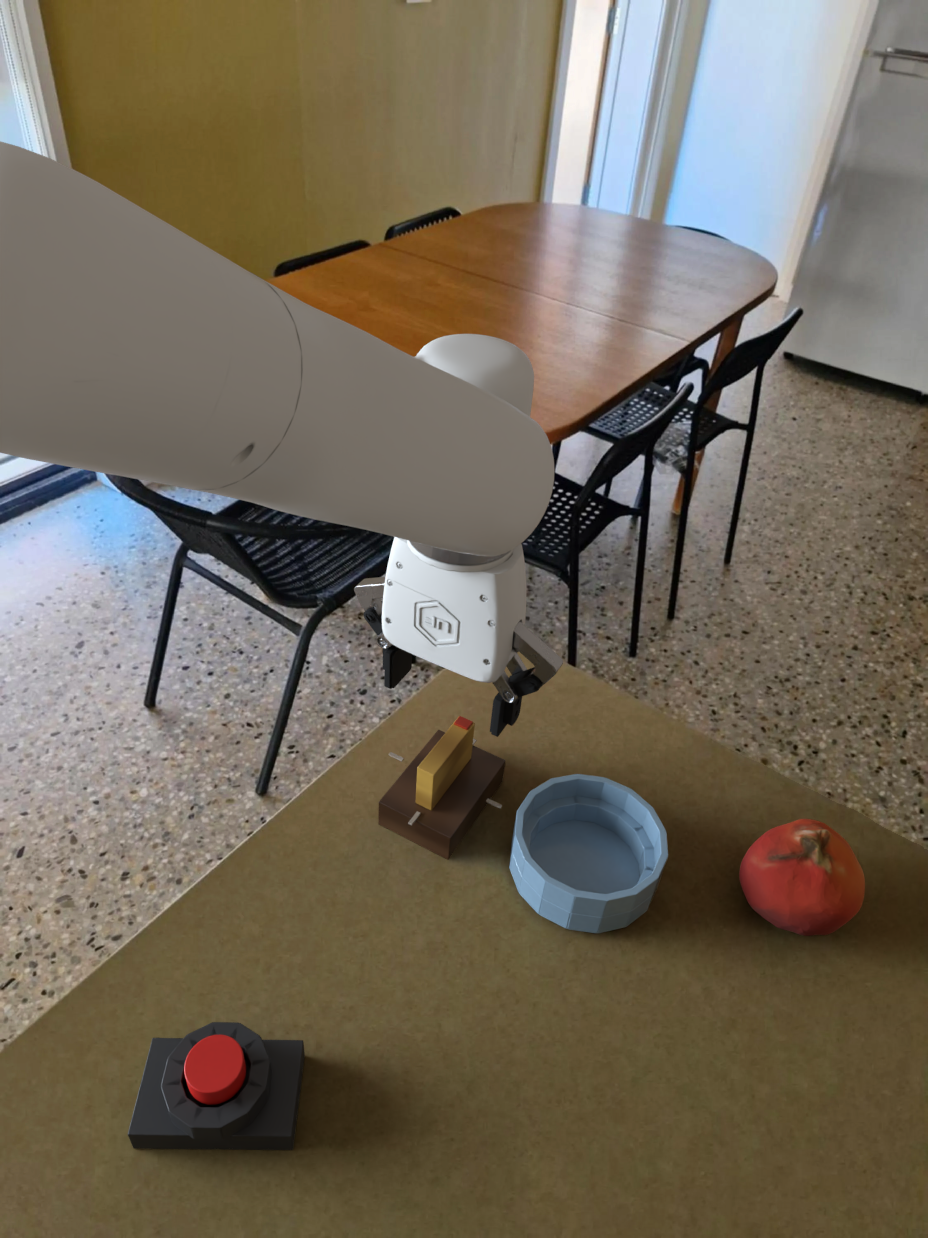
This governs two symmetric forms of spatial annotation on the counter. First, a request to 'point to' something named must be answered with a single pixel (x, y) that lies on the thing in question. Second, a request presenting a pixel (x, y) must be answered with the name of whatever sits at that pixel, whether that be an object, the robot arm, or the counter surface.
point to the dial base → (442, 801)
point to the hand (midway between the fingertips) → (449, 701)
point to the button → (215, 1069)
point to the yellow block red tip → (444, 763)
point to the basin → (587, 853)
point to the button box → (237, 1124)
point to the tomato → (803, 878)
